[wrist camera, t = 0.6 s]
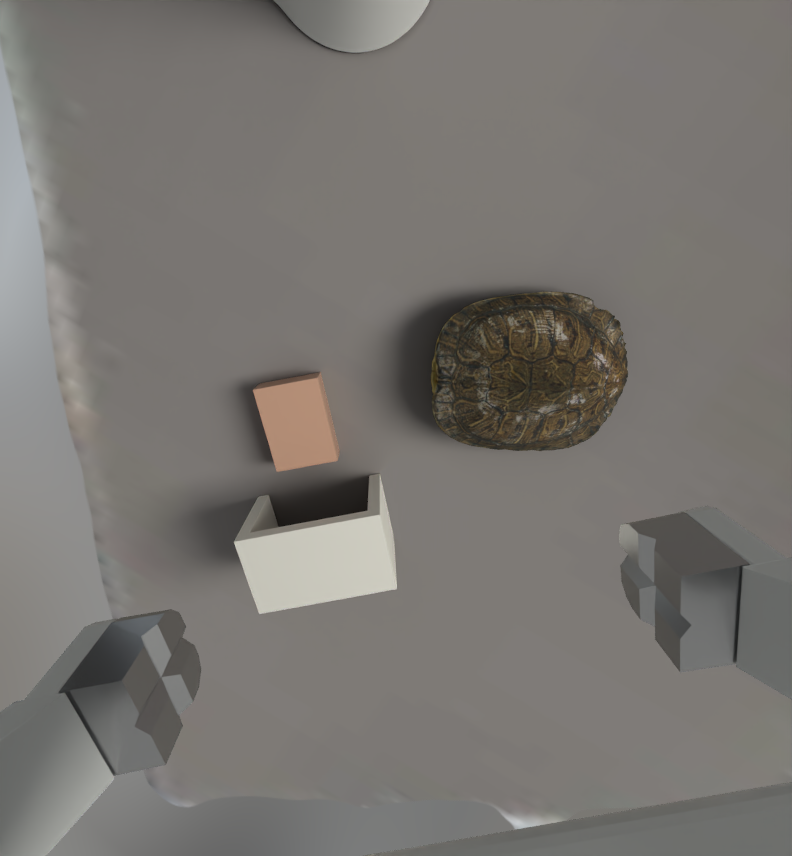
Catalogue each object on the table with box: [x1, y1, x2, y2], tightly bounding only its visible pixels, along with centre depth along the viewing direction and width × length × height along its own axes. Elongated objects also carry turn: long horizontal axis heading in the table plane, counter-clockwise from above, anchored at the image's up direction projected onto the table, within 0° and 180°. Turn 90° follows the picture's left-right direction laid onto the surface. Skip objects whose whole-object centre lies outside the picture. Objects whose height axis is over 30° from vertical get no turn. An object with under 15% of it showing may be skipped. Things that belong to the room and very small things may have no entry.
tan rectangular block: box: [253, 372, 340, 472], centre depth 48 cm, size 9×6×3 cm
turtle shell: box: [431, 292, 628, 451], centre depth 45 cm, size 16×9×20 cm
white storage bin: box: [234, 474, 397, 614], centre depth 49 cm, size 8×14×9 cm, turn 101°
